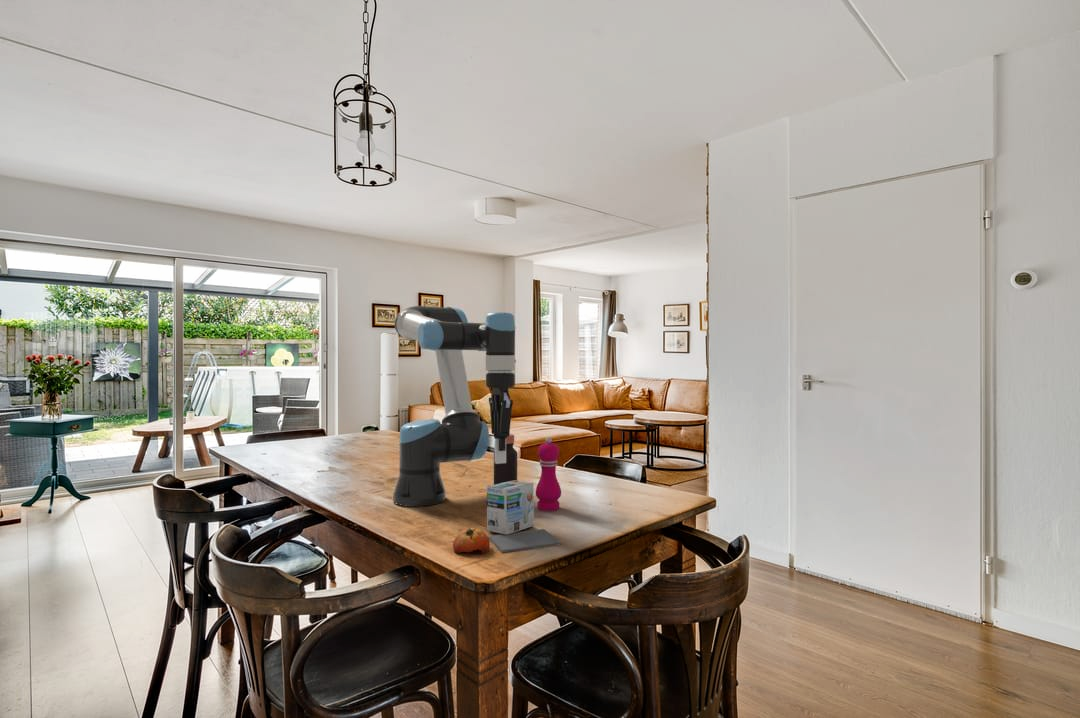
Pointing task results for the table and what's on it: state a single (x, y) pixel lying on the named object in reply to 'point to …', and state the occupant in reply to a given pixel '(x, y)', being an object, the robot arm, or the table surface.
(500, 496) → the light bulb box
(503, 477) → the bottle
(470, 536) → the tomato
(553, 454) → the pepper mill
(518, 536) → the mat
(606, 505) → the table surface
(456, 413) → the robot arm
